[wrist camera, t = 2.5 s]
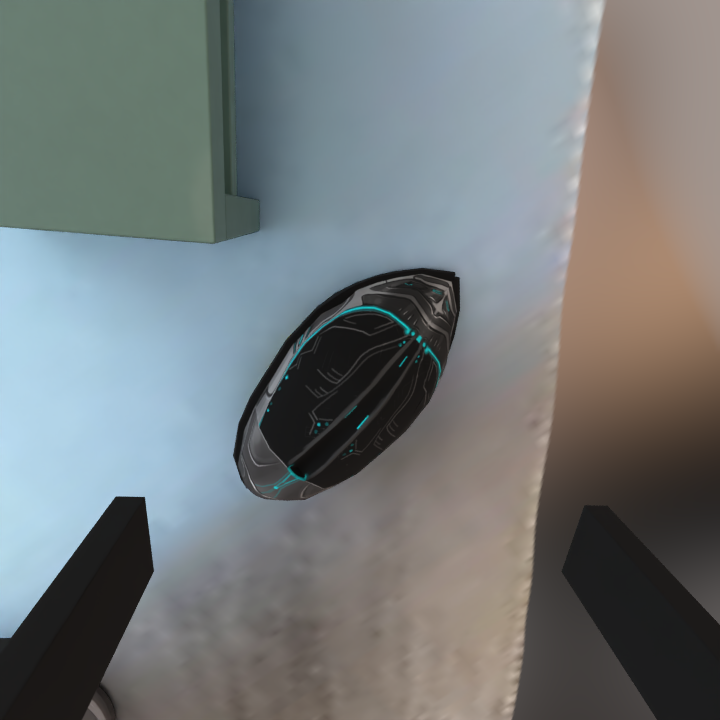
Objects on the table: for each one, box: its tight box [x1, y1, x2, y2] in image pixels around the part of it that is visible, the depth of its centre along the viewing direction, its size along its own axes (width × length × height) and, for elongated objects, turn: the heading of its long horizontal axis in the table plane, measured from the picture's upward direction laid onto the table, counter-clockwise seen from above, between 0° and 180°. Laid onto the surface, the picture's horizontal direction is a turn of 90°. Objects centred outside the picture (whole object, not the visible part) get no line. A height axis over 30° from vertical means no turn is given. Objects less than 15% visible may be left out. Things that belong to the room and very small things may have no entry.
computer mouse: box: [233, 268, 460, 501], centre depth 21 cm, size 9×17×6 cm, turn 135°
